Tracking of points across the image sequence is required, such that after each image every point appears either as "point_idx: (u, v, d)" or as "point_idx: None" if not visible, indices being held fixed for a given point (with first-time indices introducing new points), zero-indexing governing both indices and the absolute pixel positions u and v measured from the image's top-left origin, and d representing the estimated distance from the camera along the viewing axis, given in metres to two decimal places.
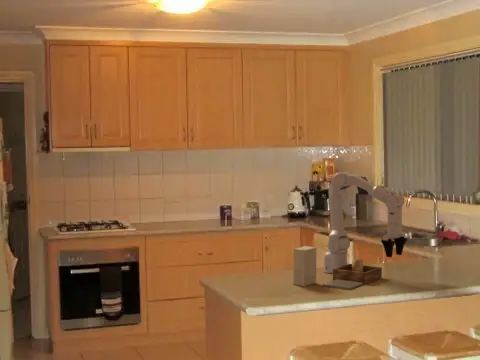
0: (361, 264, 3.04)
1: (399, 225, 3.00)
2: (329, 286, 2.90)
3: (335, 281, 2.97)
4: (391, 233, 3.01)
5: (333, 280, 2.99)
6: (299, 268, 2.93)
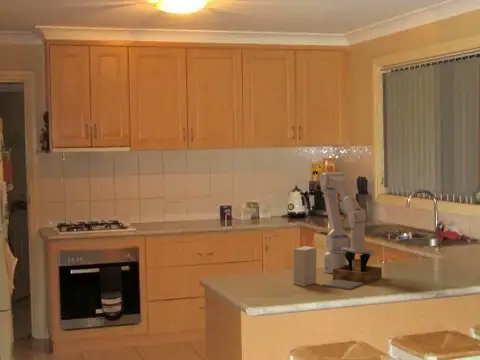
0: None
1: (353, 240, 3.03)
2: (329, 286, 2.90)
3: (335, 281, 2.97)
4: None
5: (333, 280, 2.99)
6: (299, 268, 2.93)
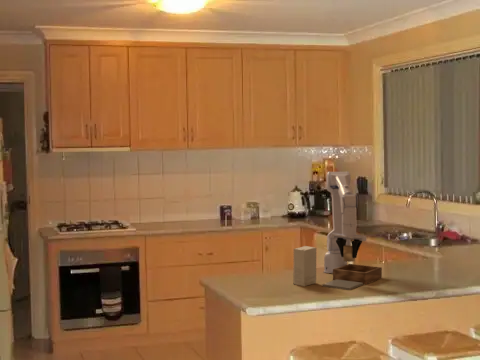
0: None
1: (344, 226, 2.95)
2: (329, 286, 2.90)
3: (335, 281, 2.97)
4: None
5: (333, 280, 2.99)
6: (299, 268, 2.93)
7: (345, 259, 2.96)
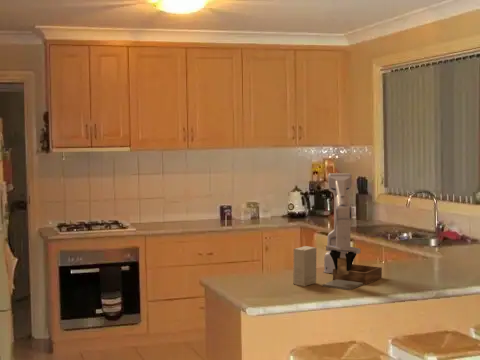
0: None
1: (338, 238, 2.90)
2: (329, 286, 2.90)
3: (335, 281, 2.97)
4: None
5: (333, 280, 2.99)
6: (299, 268, 2.93)
7: (339, 272, 2.92)
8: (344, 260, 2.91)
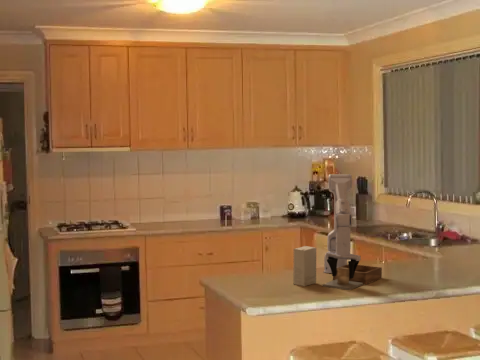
0: (347, 273, 2.91)
1: (338, 245, 2.91)
2: (329, 286, 2.90)
3: (335, 281, 2.97)
4: None
5: (333, 280, 2.99)
6: (299, 268, 2.93)
7: (339, 282, 2.92)
8: (344, 270, 2.91)
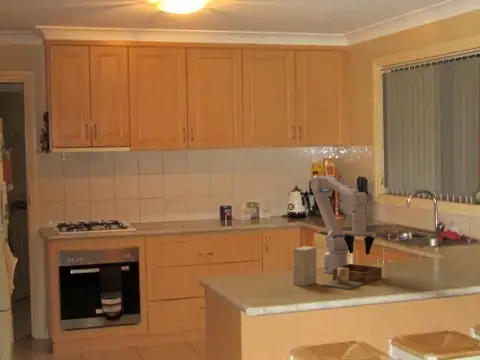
0: (347, 273, 2.91)
1: (354, 223, 3.05)
2: (329, 286, 2.90)
3: (335, 281, 2.97)
4: None
5: (333, 280, 2.99)
6: (299, 268, 2.93)
7: (339, 282, 2.92)
8: (345, 270, 2.91)
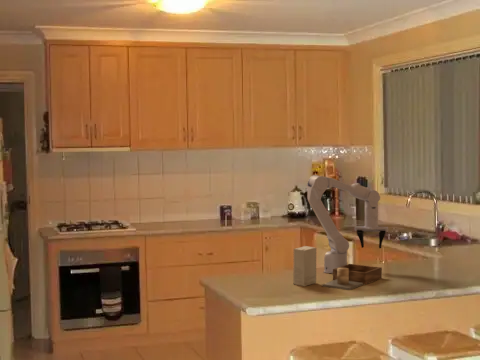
0: (347, 273, 2.91)
1: (368, 219, 3.19)
2: (329, 286, 2.90)
3: (335, 281, 2.97)
4: None
5: (333, 280, 2.99)
6: (299, 268, 2.93)
7: (339, 282, 2.92)
8: (344, 270, 2.91)
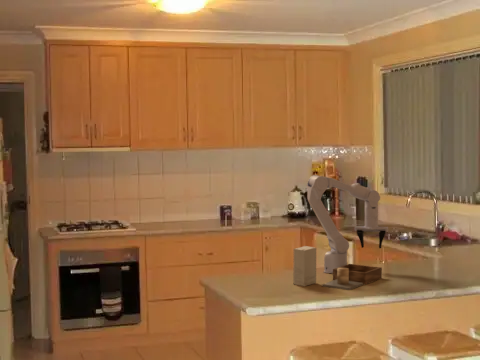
0: (347, 273, 2.91)
1: (368, 219, 3.19)
2: (329, 286, 2.90)
3: (335, 281, 2.97)
4: None
5: (333, 280, 2.99)
6: (299, 268, 2.93)
7: (339, 282, 2.92)
8: (344, 270, 2.91)
